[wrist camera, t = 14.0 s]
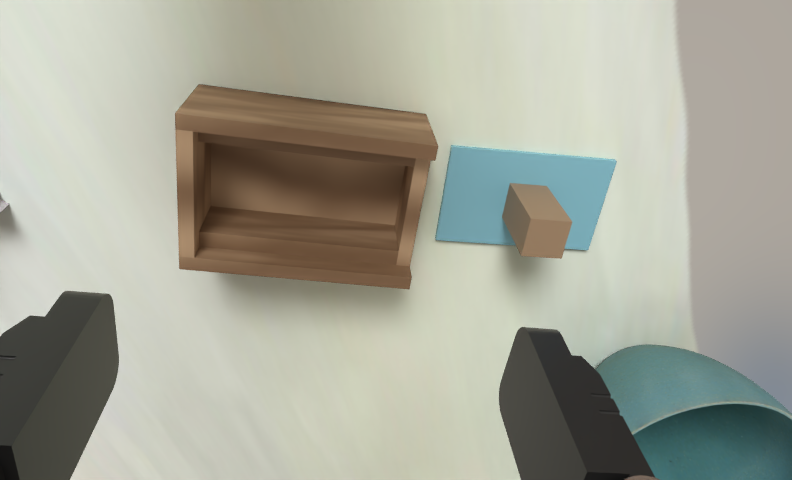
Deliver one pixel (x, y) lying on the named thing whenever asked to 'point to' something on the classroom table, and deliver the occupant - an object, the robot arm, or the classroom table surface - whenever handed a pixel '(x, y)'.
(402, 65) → the classroom table surface
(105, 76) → the classroom table surface
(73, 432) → the robot arm
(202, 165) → the brown wooden shelf box
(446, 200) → the lid
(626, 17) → the classroom table surface
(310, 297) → the classroom table surface
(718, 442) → the plant pot
